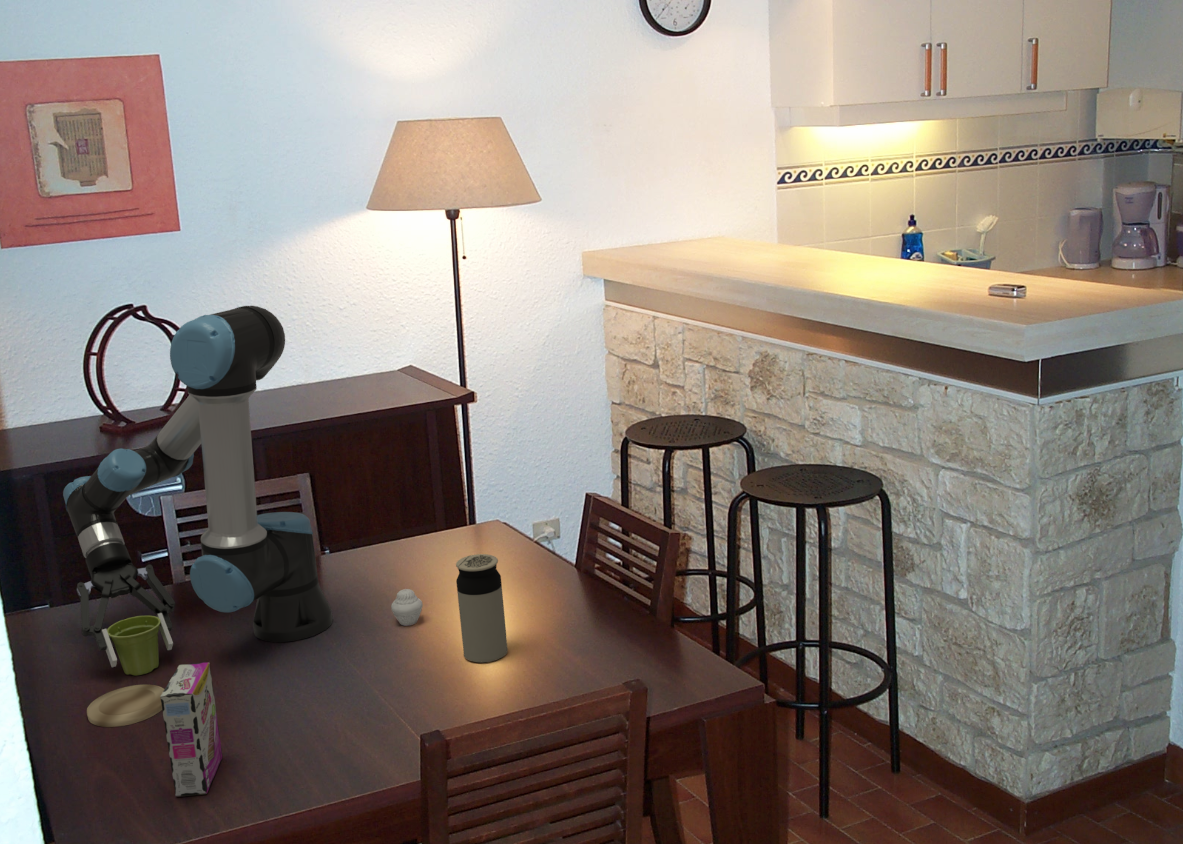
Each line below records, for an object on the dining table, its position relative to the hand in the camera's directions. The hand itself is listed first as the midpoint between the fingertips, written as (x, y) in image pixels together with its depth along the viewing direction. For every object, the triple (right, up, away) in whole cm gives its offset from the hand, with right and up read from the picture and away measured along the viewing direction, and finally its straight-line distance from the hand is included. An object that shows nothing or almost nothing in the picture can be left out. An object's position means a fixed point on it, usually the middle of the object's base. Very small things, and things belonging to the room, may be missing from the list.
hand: (142, 655), depth 217 cm
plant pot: (-2, -3, +4) cm, 5 cm away
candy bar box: (+22, -12, -36) cm, 44 cm away
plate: (+2, -7, -12) cm, 14 cm away
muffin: (+46, +3, +16) cm, 49 cm away
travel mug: (+63, 0, -1) cm, 63 cm away
